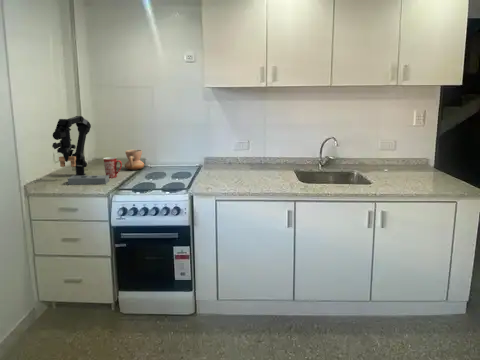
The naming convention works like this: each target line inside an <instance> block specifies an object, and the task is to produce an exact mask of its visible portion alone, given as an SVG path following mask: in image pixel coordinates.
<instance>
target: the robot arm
mask: <svg viewBox="0 0 480 360" xmlns="http://www.w3.org/2000/svg"><path fill="white" fill-rule="evenodd" d="M73 125H75V126H76V127H77V131H78V138H77V143H76V144H72V138H71V130H72V129H71V127H72V126H73ZM91 128H92V124H91V123H90V122H89V120H88V119H86V118H84V117H83V116H82V115H76V116H73V117H70V118H59V119H58V121H57V124H56V127H55V129H54V131H53V133H52V138H53V139H54V140H57V141H58V140H59V142H53V143H52V145H51V146H52V148H53V149H54V150H56V151H57V153H60V154H62V156H64V158H65V163H66V162H67V163H68V162H69V161H68V159H69V156H76V160H75V162H76V166H75V167H74V168H75V174H74V175H73V176H87V173H85V168H86V167H87V166H88V163H87V161H86V159H85V155H84V148H85V143H86V139H87V135H88V134H89V133H90V131H91Z"/></svg>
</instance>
